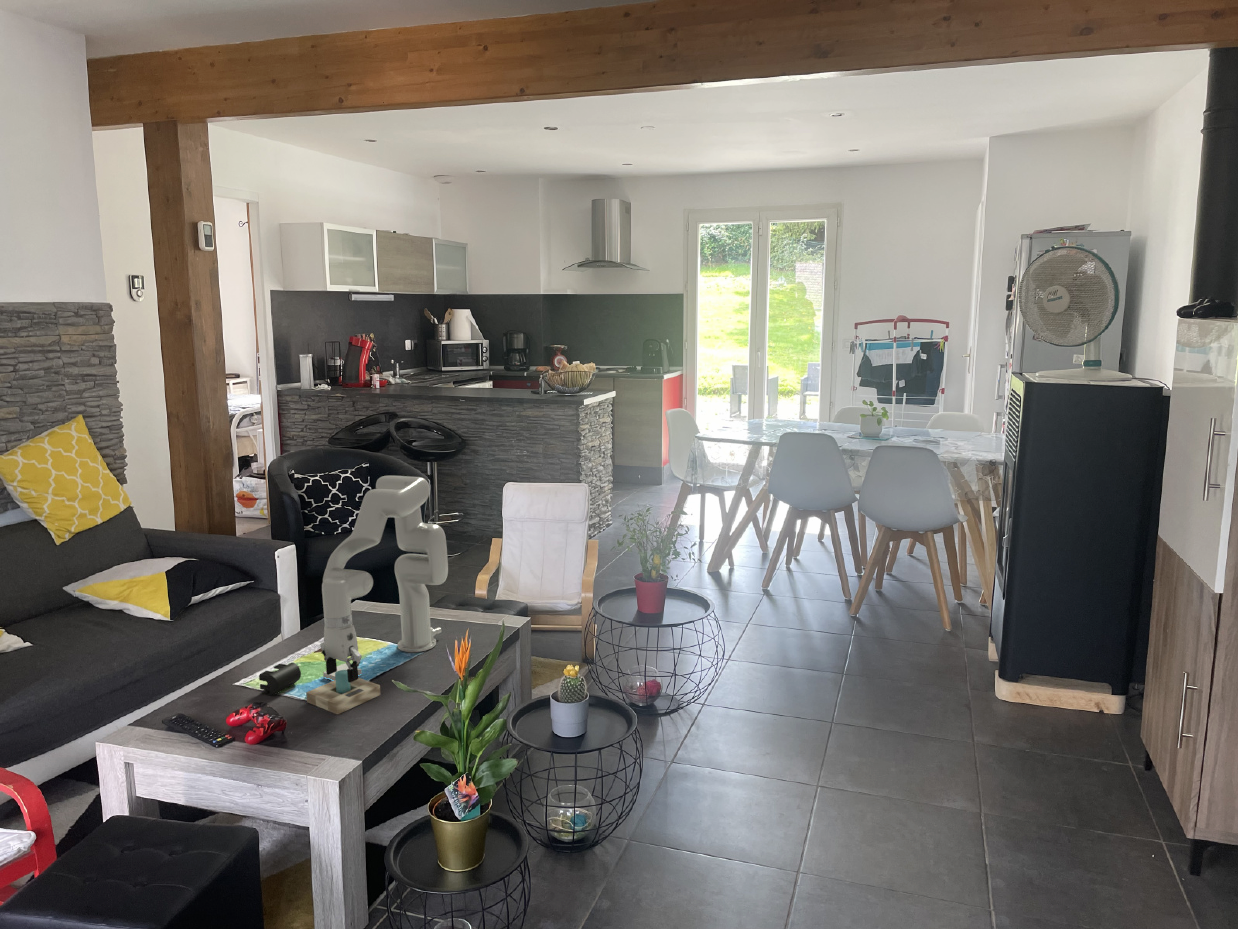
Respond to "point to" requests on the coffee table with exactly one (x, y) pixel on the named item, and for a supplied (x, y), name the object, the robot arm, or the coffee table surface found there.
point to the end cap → (279, 678)
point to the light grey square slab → (341, 667)
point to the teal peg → (342, 682)
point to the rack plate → (343, 695)
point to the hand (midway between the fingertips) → (342, 676)
